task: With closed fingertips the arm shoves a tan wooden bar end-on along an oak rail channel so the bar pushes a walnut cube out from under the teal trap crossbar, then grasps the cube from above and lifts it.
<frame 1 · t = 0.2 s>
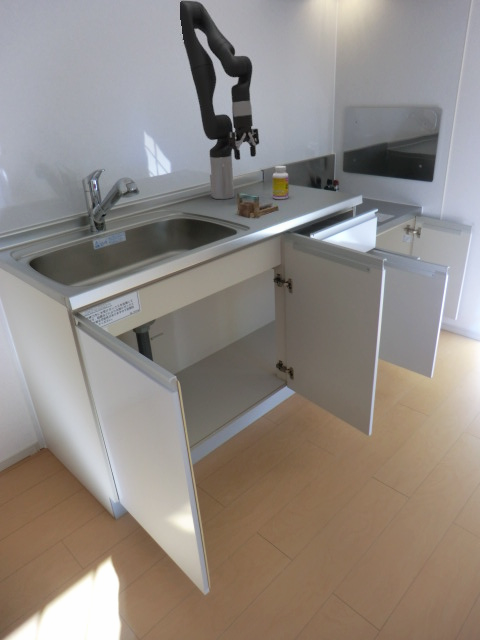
hand: (245, 158, 194), 17 cm above the counter, tool pointing down, fingers open, 8 cm apart
rail channel with trap bar: (258, 212, 185), on the counter
supplement bottle: (280, 198, 204), on the counter
walnut cube: (248, 215, 182), on the counter
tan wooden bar: (262, 211, 186), on the counter
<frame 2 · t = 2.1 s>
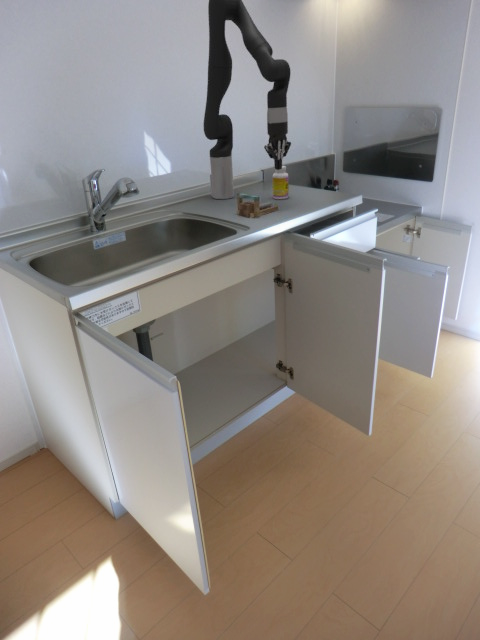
hand: (278, 169, 185), 14 cm above the counter, tool pointing down, fingers closed
nothing on the counter moved.
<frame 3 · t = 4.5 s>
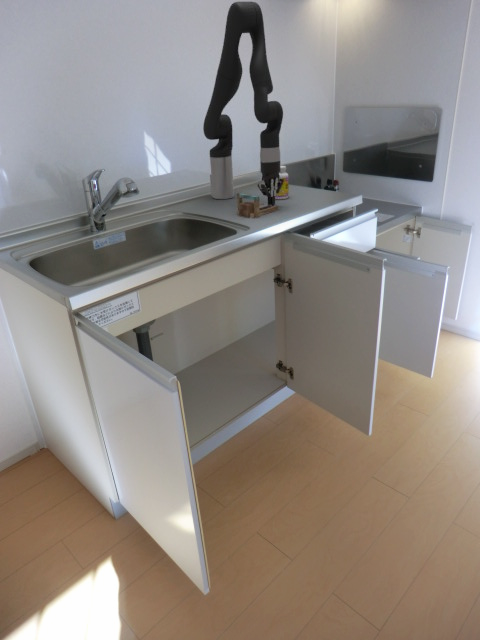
hand: (271, 205, 188), 1 cm above the counter, tool pointing down, fingers closed
walnut cube: (248, 215, 182), on the counter, touching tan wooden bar
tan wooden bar: (261, 213, 186), on the counter, touching gripper, walnut cube
everything else where it was.
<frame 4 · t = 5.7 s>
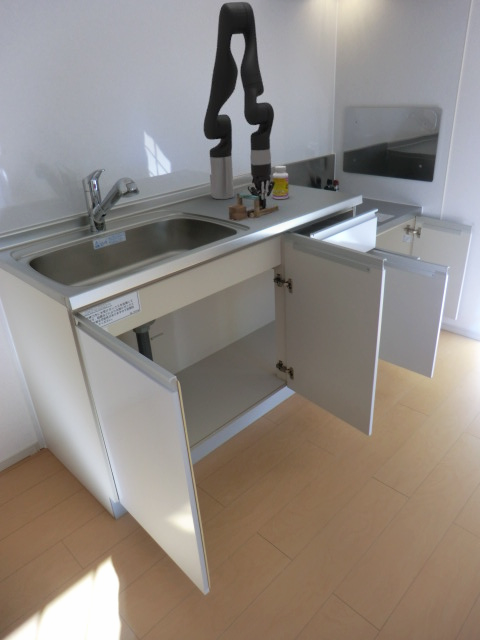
hand: (262, 208, 186), 1 cm above the counter, tool pointing down, fingers closed
walnut cube: (238, 218, 178), on the counter
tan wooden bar: (251, 215, 182), on the counter, touching gripper
everything else where it was.
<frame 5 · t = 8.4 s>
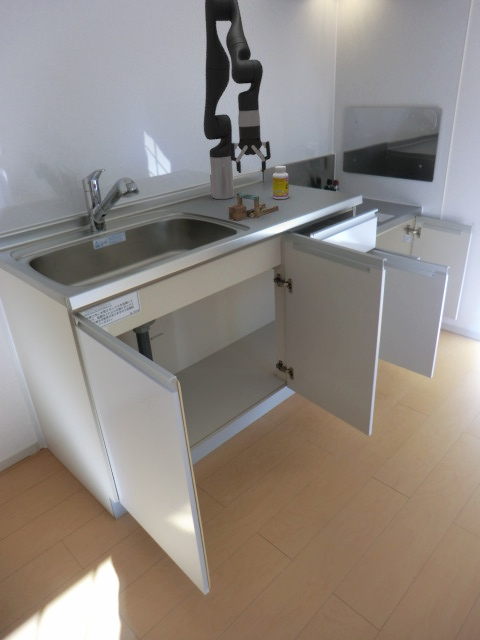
hand: (251, 172, 176), 15 cm above the counter, tool pointing down, fingers open, 8 cm apart
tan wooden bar: (251, 215, 182), on the counter
everything else where it was.
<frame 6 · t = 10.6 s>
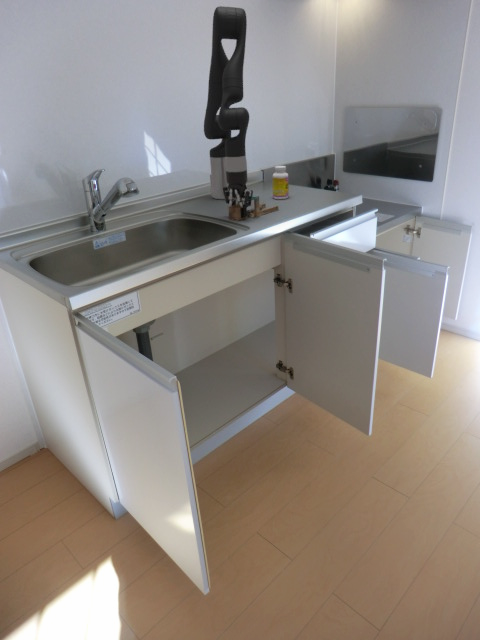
hand: (238, 216, 178), 1 cm above the counter, tool pointing down, fingers closed on walnut cube, 4 cm apart
walnut cube: (237, 218, 178), on the counter, touching gripper
everything else where it was.
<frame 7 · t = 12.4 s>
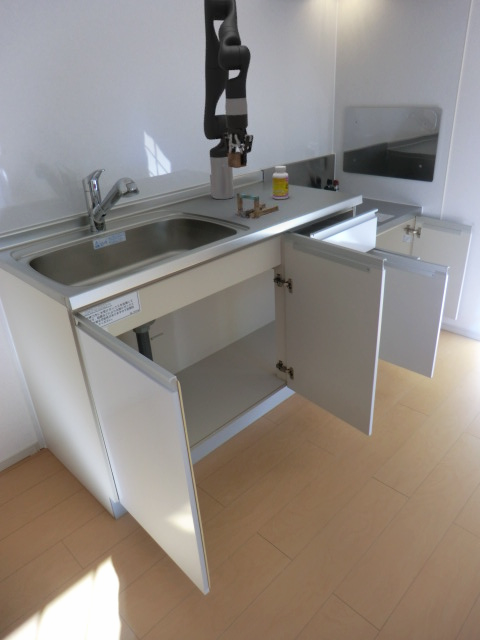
hand: (238, 164, 173), 19 cm above the counter, tool pointing down, fingers closed on walnut cube, 4 cm apart
walnut cube: (237, 166, 172), point 18 cm above the counter, touching gripper
everything else where it was.
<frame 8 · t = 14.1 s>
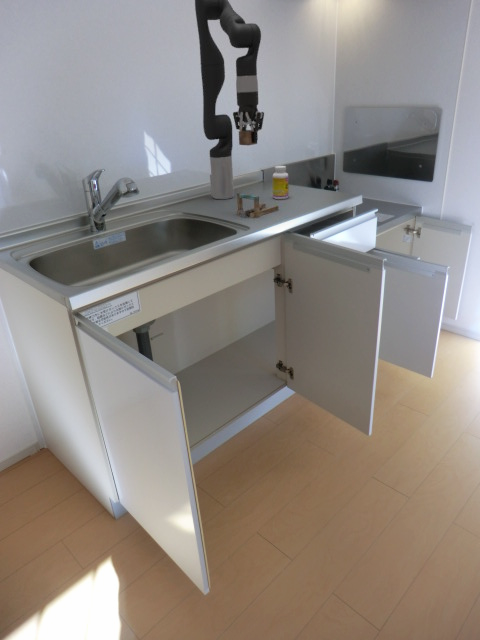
hand: (249, 142, 175), 25 cm above the counter, tool pointing down, fingers closed on walnut cube, 4 cm apart
walnut cube: (248, 144, 175), point 25 cm above the counter, touching gripper
everything else where it was.
at the end: the gripper is holding walnut cube; walnut cube point 24.7 cm above the counter; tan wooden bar moved 6.0 cm from its start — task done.
